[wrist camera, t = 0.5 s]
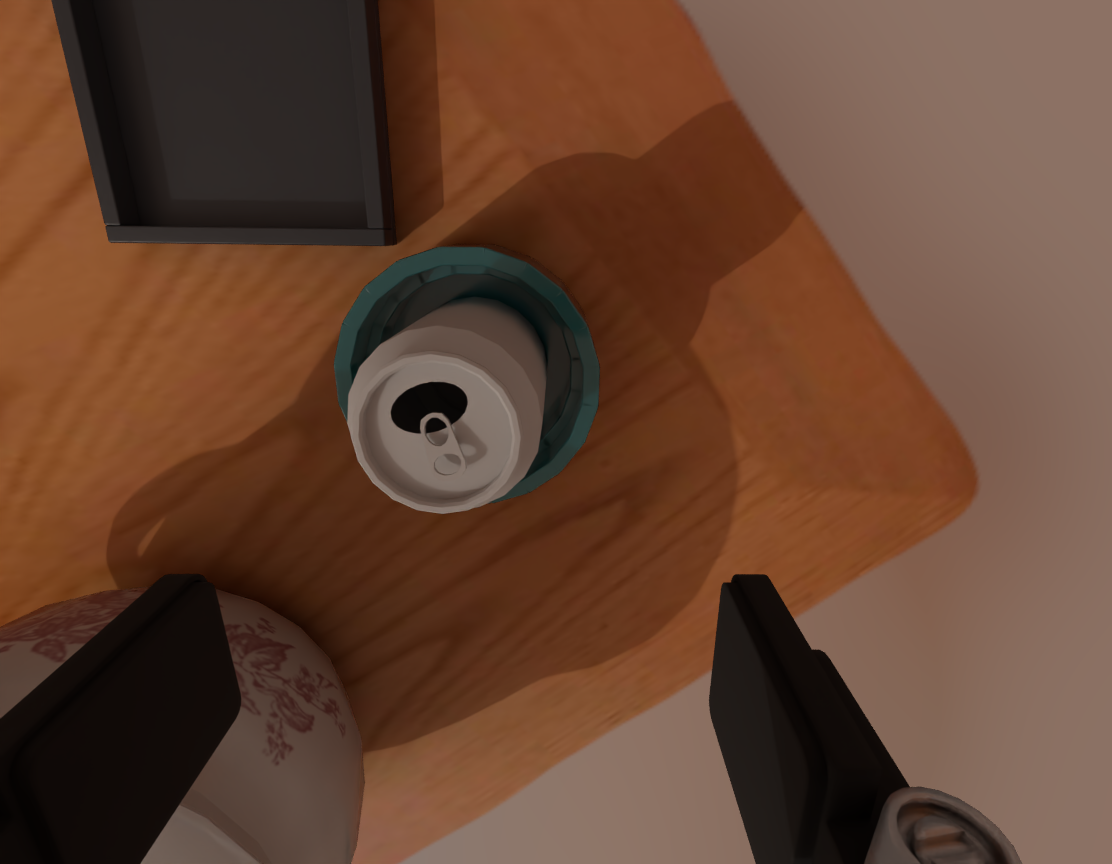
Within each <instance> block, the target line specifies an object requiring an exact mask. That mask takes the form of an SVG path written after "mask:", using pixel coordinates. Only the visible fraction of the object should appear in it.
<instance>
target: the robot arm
mask: <svg viewBox="0 0 1112 864" xmlns="http://www.w3.org/2000/svg"><path fill="white" fill-rule="evenodd" d="M709 706H710V714H711V719H712V723H713V726H714V729H715V732H716V735H717V739H718V742H719V745H720V749H721V752H722V755H723V758H724V762H725V765H726V768H727V771H728V775H729V778H730V781H731V784H732V787H733V791H734V794H735V797H736V801H737V804H738V807H739V810H740V814H741V817H742V820H743V823H744V827H745V830H746V833H747V836H748V840H749V843H750V846H751V849H752V853H753V856H754V859H755V862H756V864H1022V862H1021V860H1020V858H1019V856H1018V854H1017V852H1016V850H1015V848H1014V846H1013V845H1012V844H1011V842H1010V841H1009V840H1008V839H1007V838H1006V836H1005V835H1004V834H1003V833H1002V831H1001V830H1000V829H999V828H998V827H997V826H996V825H995V824H993V822H991V821H990V820H989V819H988V818H987V817H986V816H984V815H983V814H982V813H981V812H980V811H978V810H977V809H975V808H973V807H972V806H970V805H969V804H967V803H965V802H964V801H962V800H960V799H959V798H956V797H953V796H951V795H949V794H946V793H944V792H942V791H939V790H935V789H929V788H924V787H910V786H909V785H908V783H907V782H906V780H905V778H904V777H903V775H902V774H901V772H900V770H899V769H898V767H897V766H896V764H895V762H894V761H893V759H892V758H891V756H890V754H889V753H888V751H887V750H886V748H885V746H884V745H883V743H882V742H881V740H880V739H879V737H878V735H877V734H876V732H875V730H874V729H873V727H872V726H871V724H870V722H869V721H868V719H867V718H866V716H865V714H864V713H863V711H862V710H861V708H860V707H859V705H858V703H857V702H856V700H855V698H854V697H853V695H852V694H851V692H850V690H849V689H848V688H847V686H846V684H845V682H844V681H843V679H842V678H841V676H840V675H839V673H838V671H837V670H836V668H835V666H834V665H833V663H832V662H831V660H830V659H829V657H828V656H827V655H826V654H825V653H824V652H823V651H821V650H812V649H811V648H810V646H809V644H808V643H807V641H806V640H805V638H804V636H803V634H802V632H801V631H800V629H799V627H798V626H797V624H796V622H795V621H794V619H793V617H792V616H791V614H790V612H789V611H788V609H787V607H786V606H785V604H784V602H783V601H782V599H781V597H780V596H779V594H778V592H777V591H776V589H775V587H774V585H773V584H772V582H771V580H770V579H769V577H768V576H767V575H764V574H735V575H734V576H733V577H732V580H731V583H723V584H722V587H721V595H720V604H719V613H718V622H717V631H716V640H715V649H714V659H713V668H712V677H711V686H710V695H709ZM240 707H241V693H240V689H239V685H238V681H237V676H236V672H235V668H234V664H233V660H232V655H231V651H230V647H229V643H228V639H227V635H226V630H225V626H224V622H223V618H222V614H221V610H220V605H219V601H218V597H217V593H216V589H215V587H214V585H213V584H212V583H210V582H207V580H206V578H205V577H204V576H203V575H200V574H168V575H165V576H163V577H161V578H160V579H159V580H158V581H157V582H155V583H154V584H153V585H152V586H151V587H150V588H149V589H147V590H146V591H145V592H144V593H143V594H142V595H141V596H139V597H138V598H137V599H136V600H135V601H134V602H133V603H131V604H130V605H129V606H128V607H127V608H126V609H125V610H123V611H122V612H121V613H120V614H119V615H118V616H117V617H115V618H114V619H113V620H112V621H111V622H110V623H109V624H107V625H106V626H105V627H104V628H103V629H102V630H101V631H100V632H98V633H97V634H96V635H95V636H94V637H93V638H92V639H90V640H89V641H88V642H87V643H86V644H85V645H84V646H82V647H81V648H80V649H79V650H78V651H77V652H76V653H74V654H73V655H72V656H71V657H70V658H69V659H68V660H66V661H65V662H64V663H63V664H62V665H61V666H60V667H58V668H57V669H56V670H55V671H54V672H53V673H52V674H50V675H49V676H48V677H47V678H46V679H45V680H44V681H42V682H41V683H40V684H39V685H38V686H37V687H36V688H34V689H33V690H32V691H31V692H30V693H29V694H28V695H27V696H25V697H24V698H23V699H22V700H21V701H20V702H19V703H17V704H16V705H15V706H14V707H13V708H12V709H11V710H9V711H8V712H7V713H6V714H5V715H4V716H3V717H1V718H0V864H141V862H142V861H143V859H144V858H145V856H146V855H147V853H148V852H149V850H150V849H151V847H152V846H153V844H154V842H155V841H156V839H157V838H158V836H159V835H160V833H161V832H162V830H163V829H164V827H165V826H166V824H167V823H168V821H169V820H170V818H171V817H172V815H173V814H174V812H175V811H176V809H177V808H178V806H179V805H180V803H181V802H182V800H183V799H184V797H185V796H186V794H187V792H188V791H189V789H190V788H191V786H192V785H193V783H194V782H195V780H196V779H197V777H198V776H199V774H200V773H201V771H202V770H203V768H204V767H205V765H206V764H207V762H208V761H209V759H210V758H211V756H212V755H213V753H214V752H215V750H216V749H217V747H218V745H219V744H220V742H221V741H222V739H223V738H224V736H225V735H226V733H227V732H228V730H229V729H230V727H231V726H232V724H233V723H234V721H235V720H236V718H237V716H238V714H239V711H240Z"/></svg>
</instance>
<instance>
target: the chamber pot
mask: <svg viewBox="0 0 1112 864" xmlns="http://www.w3.org/2000/svg"><path fill="white" fill-rule="evenodd" d="M150 587H151V586H150ZM150 587H140V588H130V589H120V590H110V591H103V592H99V593H95V594H91V595H86V596H82V597H78V598H74V599H70V600H66V601H62V602H58V603H53V604H49V605H45V606H43V607H41V608H39V609H37V610H35V611H33V612H31V613H29V614H26V615H24V616H22V617H20V618H18V619H16V620H14V621H12V622H9V623H7V624H5V625H3V626H1V627H0V718H1V717H3V716H4V715H5V714H6V713H7V712H8V711H9V710H11V709H12V708H13V707H14V706H15V705H16V704H17V703H19V702H20V701H21V700H22V699H23V698H24V697H25V696H27V695H28V694H29V693H30V692H31V691H32V690H33V689H34V688H36V687H37V686H38V685H39V684H40V683H41V682H42V681H44V680H45V679H46V678H47V677H48V676H49V675H50V674H52V673H53V672H54V671H55V670H56V669H57V668H58V667H60V666H61V665H62V664H63V663H64V662H65V661H66V660H68V659H69V658H70V657H71V656H72V655H73V654H74V653H76V652H77V651H78V650H79V649H80V648H81V647H82V646H84V645H85V644H86V643H87V642H88V641H89V640H90V639H92V638H93V637H94V636H95V635H96V634H97V633H98V632H100V631H101V630H102V629H103V628H104V627H105V626H106V625H107V624H109V623H110V622H111V621H112V620H113V619H114V618H115V617H117V616H118V615H119V614H120V613H121V612H122V611H123V610H125V609H126V608H127V607H128V606H129V605H130V604H131V603H133V602H134V601H135V600H136V599H137V598H138V597H139V596H141V595H142V594H143V593H144V592H145V591H146V590H147V589H149V588H150ZM216 593H217V597H218V601H219V605H220V610H221V614H222V618H223V622H224V626H225V630H226V635H227V639H228V643H229V647H230V651H231V655H232V660H233V664H234V668H235V672H236V676H237V681H238V685H239V689H240V693H241V707H240V711H239V714H238V716H237V718H236V720H235V721H234V723H233V724H232V726H231V727H230V729H229V730H228V732H227V733H226V735H225V736H224V738H223V739H222V741H221V742H220V744H219V745H218V747H217V749H216V750H215V752H214V753H213V755H212V756H211V758H210V759H209V761H208V762H207V764H206V765H205V767H204V768H203V770H202V771H201V773H200V774H199V776H198V777H197V779H196V780H195V782H194V783H193V785H192V786H191V788H190V789H189V791H188V792H187V794H186V796H185V797H184V799H183V800H182V802H181V803H180V805H179V806H178V808H177V809H176V811H175V812H174V814H173V815H172V817H171V818H170V820H169V821H168V823H167V824H166V826H165V827H164V829H163V830H162V832H161V833H160V835H159V836H158V838H157V839H156V841H155V842H154V844H153V846H152V847H151V849H150V850H149V852H148V853H147V855H146V856H145V858H144V859H143V861H142V862H141V864H351V862H352V859H353V856H354V853H355V850H356V846H357V841H358V833H359V825H360V817H361V809H362V802H363V794H364V786H365V777H364V765H363V752H362V740H361V735H360V732H359V729H358V726H357V723H356V719H355V716H354V713H353V710H352V707H351V704H350V700H349V697H348V694H347V692H346V690H345V688H344V686H343V684H342V682H341V680H340V678H339V675H338V673H337V671H336V669H335V667H334V665H333V663H332V661H331V659H330V658H329V657H328V656H327V655H326V654H325V653H324V652H323V651H322V650H321V649H320V647H319V646H318V645H317V644H316V643H315V642H314V641H313V640H312V639H311V638H310V637H309V636H308V635H307V634H306V633H305V632H304V631H303V630H302V629H301V628H300V627H299V626H298V625H297V624H295V623H293V622H292V621H290V620H288V619H287V618H285V617H283V616H282V615H280V614H278V613H277V612H275V611H273V610H272V609H270V608H268V607H267V606H265V605H264V604H262V603H260V602H257V601H254V600H250V599H247V598H244V597H241V596H237V595H234V594H231V593H228V592H224V591H221V590H218V589H216Z"/></svg>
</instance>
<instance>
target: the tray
mask: <svg viewBox="0 0 1112 864" xmlns="http://www.w3.org/2000/svg"><path fill="white" fill-rule="evenodd" d="M52 4H53V9H54V13H55V17H56V21H57V26H58V30H59V34H60V38H61V42H62V47H63V51H64V55H65V59H66V63H67V68H68V72H69V76H70V80H71V84H72V89H73V93H74V97H75V101H76V106H77V110H78V114H79V118H80V122H81V127H82V131H83V135H84V139H85V143H86V148H87V152H88V156H89V160H90V165H91V169H92V173H93V177H94V181H95V186H96V190H97V194H98V198H99V202H100V207H101V211H102V215H103V219H104V223H105V225H107V226H106V232H107V236H108V240H109V242H111V243H181V244H263V245H346V246H389V245H396V244H397V242H396V229H395V216H394V203H393V190H392V178H391V165H390V152H389V139H388V126H387V113H386V100H385V87H384V75H383V62H382V49H381V36H380V23H379V10H378V0H52Z"/></svg>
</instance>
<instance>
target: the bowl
mask: <svg viewBox="0 0 1112 864" xmlns="http://www.w3.org/2000/svg"><path fill="white" fill-rule="evenodd" d="M474 296H475V297H481V298H487V299H493V300H498V301H500V302H502V303H504V304H506V305H508V306H510V307H512V308H513V309H515V310H517V311H518V312H519V313H520V314H521V315H522V316H523V317H524V318H526V319H527V320H528V321H529V322H530V323H531V324H532V325H533V326H534V328H535V330H536V332H537V334H538V336H539V338H540V340H541V342H542V344H543V346H544V350H545V356H546V362H547V378H546V389H545V400H544V411H543V422H542V429H541V435H540V442H539V448H538V453H537V454H536V456H535V458H534V460H533V462H532V464H531V466H530V467H529V469H528V471H527V473H526V475H525V477H524V478H522V479H521V480H520V481H519V482H518V483H517V484H516V485H515V486H514V487H513V488H512V489H511V490H510V491H508V492H507V493H506V494H505V495H504V496H502V497H500V498H497V499H495V500H493V501H491V502H489V504H490V503H496V502H499V501H503V500H506V499H510V498H513V497H517V496H520V495H524V494H527V493H530V492H531V491H533V490H534V489H536V488H537V487H539V486H541V485H542V484H544V483H545V482H547V481H548V480H550V479H551V478H553V477H554V476H556V475H558V474H559V473H560V472H561V471H562V470H563V469H564V468H565V466H566V465H567V464H568V463H569V461H570V460H571V459H572V458H573V457H574V455H575V454H576V453H577V452H578V450H579V449H580V448H581V447H582V445H583V444H584V443H585V441H586V438H587V436H588V433H589V430H590V428H591V425H592V422H593V420H594V417H595V415H596V412H597V409H598V406H599V380H600V366H599V361H598V358H597V354H596V351H595V347H594V344H593V340H592V337H591V333H590V330H589V327H588V323H587V320H586V316H585V314H584V311H583V310H582V308H581V307H580V305H579V304H578V302H577V301H576V299H575V298H574V296H573V295H572V294H571V292H570V291H569V289H568V288H567V286H566V285H565V283H564V282H563V281H562V280H561V279H560V278H558V277H557V276H556V275H554V274H553V273H552V272H551V271H549V270H548V269H547V268H545V267H544V266H543V265H541V264H540V263H539V262H538V261H536V260H535V259H534V258H531V257H530V256H527V255H524V254H521V253H518V252H516V251H513V250H510V249H507V248H504V247H501V246H499V245H495V244H453V245H447V246H440V247H436V248H433V249H430V250H427V251H424V252H421V253H418V254H415V255H412V256H409V257H406V258H403V259H400V260H399V261H396V262H395V263H394V264H392V265H391V266H390V267H389V268H387V269H386V270H385V271H384V272H382V273H381V274H380V275H378V276H377V277H376V278H375V279H373V280H372V281H371V282H370V283H368V284H367V285H366V286H365V288H363V290H362V291H361V293H360V294H359V296H358V298H357V299H356V301H355V303H354V304H353V306H352V307H351V309H350V311H349V312H348V314H347V316H346V317H345V319H344V321H343V323H342V326H341V331H340V335H339V340H338V345H337V350H336V354H335V359H334V370H335V378H336V387H337V395H338V403H339V406H340V408H341V410H342V412H343V414H344V417H345V419H346V421H347V419H348V394H349V392H350V389H351V387H352V384H353V382H354V379H355V377H356V374H357V372H358V369H359V367H360V366H361V365H362V364H363V363H364V362H365V360H366V359H367V358H368V357H369V356H370V355H371V354H372V353H373V352H374V350H375V349H376V348H377V347H378V346H379V345H380V344H382V343H383V342H385V341H386V340H388V339H390V338H391V337H393V336H394V335H396V334H397V333H399V332H400V331H402V330H403V329H405V328H407V327H408V326H410V325H411V324H413V323H414V322H416V321H417V320H419V319H421V318H422V317H424V316H425V315H427V314H428V313H430V312H431V311H433V310H435V309H437V308H439V307H440V306H442V305H444V304H446V303H448V302H450V301H452V300H456V299H462V298H468V297H474Z"/></svg>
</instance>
